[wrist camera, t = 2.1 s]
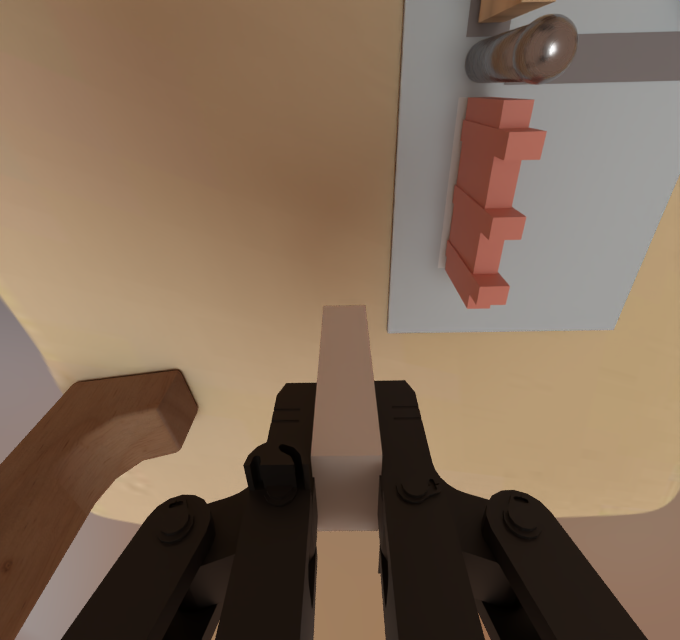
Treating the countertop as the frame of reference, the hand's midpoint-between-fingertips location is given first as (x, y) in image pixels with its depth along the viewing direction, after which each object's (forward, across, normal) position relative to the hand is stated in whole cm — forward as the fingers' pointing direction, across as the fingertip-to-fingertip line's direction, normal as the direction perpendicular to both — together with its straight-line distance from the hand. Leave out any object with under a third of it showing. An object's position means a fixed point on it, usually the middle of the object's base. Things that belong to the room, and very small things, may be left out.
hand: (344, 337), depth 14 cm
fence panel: (+11, +7, +3) cm, 13 cm away
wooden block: (+12, -17, -13) cm, 24 cm away
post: (+11, +7, +9) cm, 16 cm away
